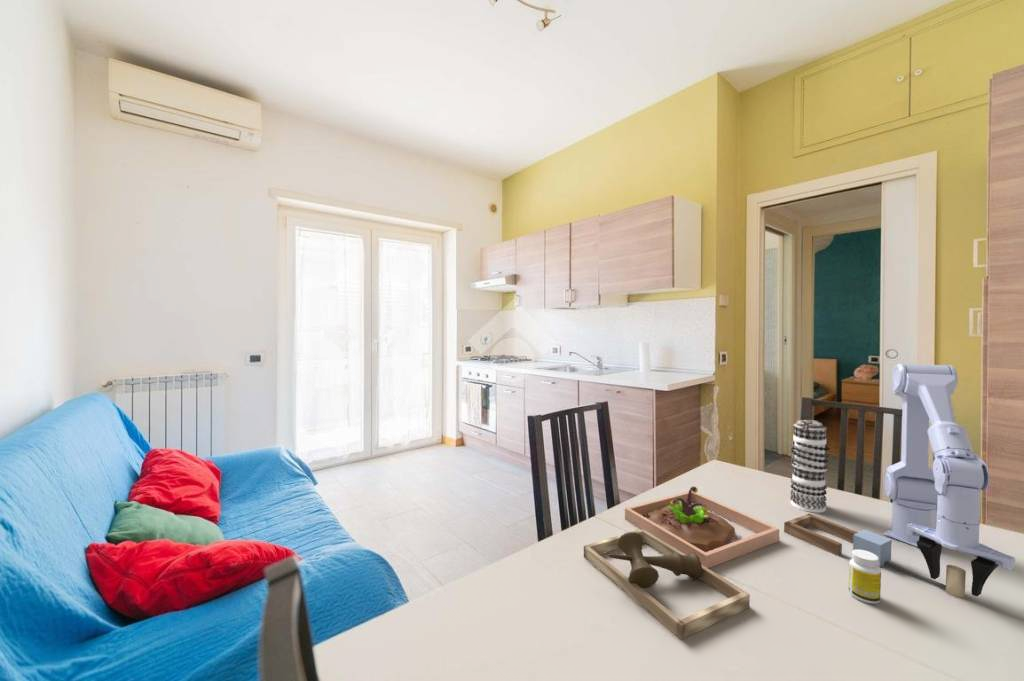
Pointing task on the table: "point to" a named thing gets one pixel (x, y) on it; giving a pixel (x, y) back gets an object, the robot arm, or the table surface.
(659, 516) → the plant
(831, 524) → the walnut lane
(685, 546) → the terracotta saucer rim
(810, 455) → the decorative candle
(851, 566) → the supplement bottle
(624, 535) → the kendama
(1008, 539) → the table surface
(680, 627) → the beech serving tray
